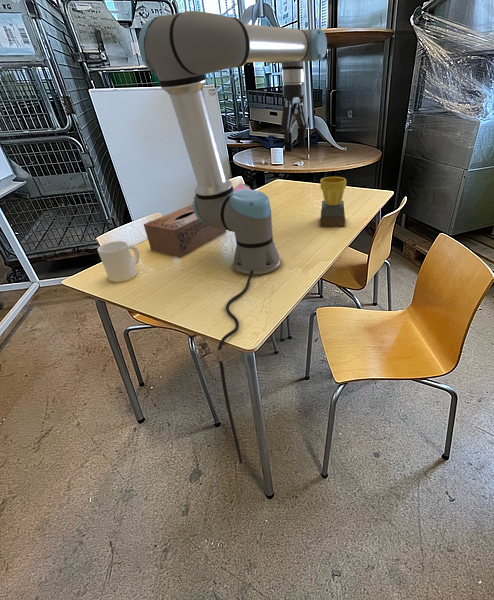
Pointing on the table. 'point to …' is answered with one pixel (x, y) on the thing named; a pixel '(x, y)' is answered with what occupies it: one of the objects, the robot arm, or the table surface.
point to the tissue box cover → (179, 232)
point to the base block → (332, 221)
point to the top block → (332, 210)
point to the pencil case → (242, 187)
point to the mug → (119, 260)
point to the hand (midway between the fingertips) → (295, 148)
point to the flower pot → (333, 190)
